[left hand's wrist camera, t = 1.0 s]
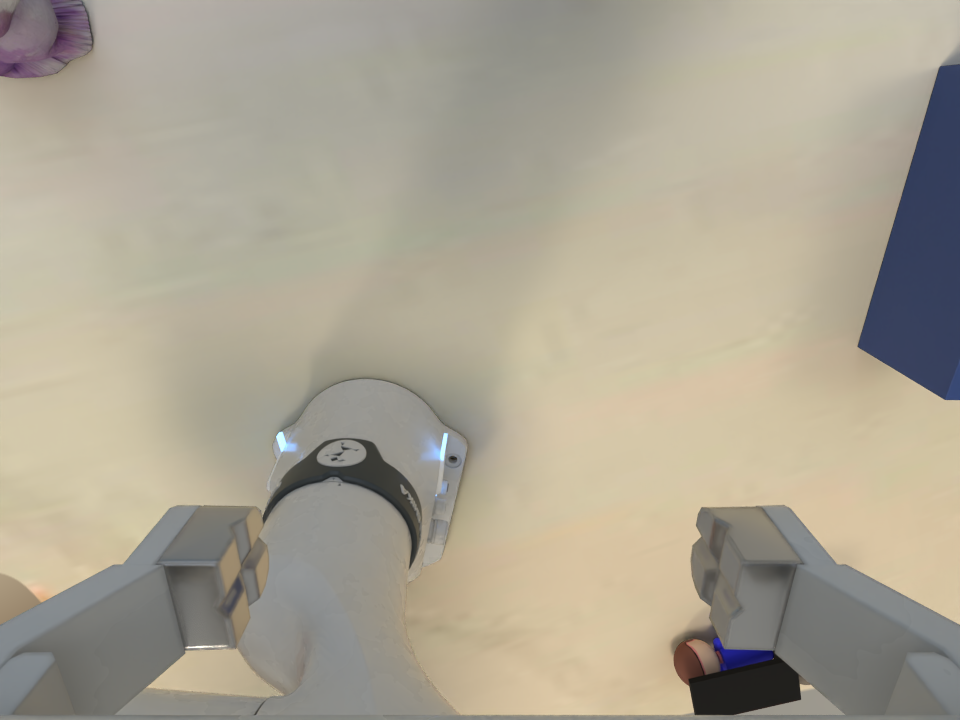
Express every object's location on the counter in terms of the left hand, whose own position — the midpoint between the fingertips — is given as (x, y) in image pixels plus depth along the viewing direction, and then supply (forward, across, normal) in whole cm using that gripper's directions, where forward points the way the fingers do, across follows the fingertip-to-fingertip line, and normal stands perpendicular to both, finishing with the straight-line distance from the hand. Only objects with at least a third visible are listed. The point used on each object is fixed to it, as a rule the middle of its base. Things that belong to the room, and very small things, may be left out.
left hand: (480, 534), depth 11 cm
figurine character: (+41, +29, -47) cm, 69 cm away
